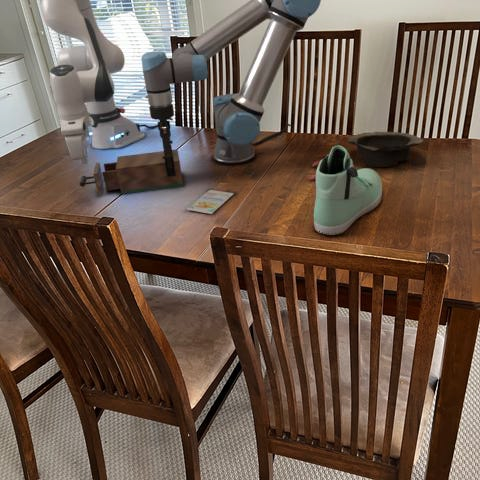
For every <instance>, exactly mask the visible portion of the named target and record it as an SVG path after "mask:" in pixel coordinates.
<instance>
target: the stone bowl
mask: <svg viewBox="0 0 480 480" xmlns="http://www.w3.org/2000/svg"><path fill="white" fill-rule="evenodd" d="M424 142H425V141H424V139H422V138H420V137H418V136H417V135H414V134H411V133H407V132H397V131H373V132H362V133H358V134H353V135H351V136H349V137H348V141H347V143H348V144H351V145H353V146H356V150H357V151H356V152H357V154H358V155H360V157H361V159H363V160H364V161H366V164H367V166H368V167H372V168H375V167H376V168H385V167H394V166H396V165H397V164H398V162H406V161H408V160H409V158H410V151H411V148H413V147H416V146H419V145H420V144H422V143H424Z"/></svg>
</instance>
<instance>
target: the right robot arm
mask: <svg viewBox="0 0 480 480" xmlns="http://www.w3.org/2000/svg"><path fill="white" fill-rule="evenodd" d="M321 2H322V0H249V1H247V2H246V3H245V4H243V5H241V6H240V7H239V8H237V9H236V10H234V11H233V12H232V13H230V14H229V15H227V16H225V17H224V18H223V19H221V20H220V21H218V22H217V23H216V24H214V25H212V27H210V28H209V29H207V30H205V31H204V32H203V33H201V34H200V35H198V36H197V37H195V38H194V39H192V41H190V42H188V43H186V44H185V45H184V46H181V47H177V48H176V49H175V50H174V51H173V53H172V55H171V57H167V54H166V52H164V51H161V50H160V51H158V50H157V51H156V50H155V51H149V52H145V53H143V55H142V56H141V66H142V68H141V69H142V74H143V80H144V85H145V90H146V95H145V97H144V98H145V99H147V102H148V105H149V107H148V108H149V115H150V116H149V117H150V119H152V120H155V121H157V120H158V121H157V122H156V123H157V125H158V127H157V129H158V131H159V137H160V139H161V142H162V148H163V151H164V155H165V156H164V157H162V158H163V159H165V164H166V170H167V176H168V177H171V176H176V174H175V167H174V161H173V155H172V150H173V148H172V144H174V142H173V140H171V137H172V134H171V122H170V121H171V120H167V119H168V118H173V117H174V116H175V111H174V110H175V109H174V104H173V95H172V89H171V85H173V84H174V85H175V84H181V83H182V84H183V83H193V82H197V83H198V82H199V81H205V80H207V79H208V77H209V76H208V75H209V73H208V71H209V70H208V63H207V61H208V60H210V59H211V58H213V57H214V56H215V55H216V54H218V53H220V52H221V51H223V50H224V49H225V48H227V47H229V46H230V45H232V44H233V43H234V42H236V41H237V40H239V39H240V38H242V37H243V36H245V35H246V34H248V33H249V32H250V31H252V30H253V29H255V28H256V27H257V26H259V25H260V24H262V23H264V22H265V21H266V20H270V21H269V22H268V25H267V27H266V30H265V31H264V34H263V36H262V39H261V41H260V43H259V46H258V47H257V50H256V53H255V55H254V57H253V59H252V61H251V64H250V66H249V69H248V70H247V73H246V75H245V77H244V80H243V82H242V84H241V87H240V89H239V91H238V93H227V94H222V95H217V96H215V97H214V98H213V105H212V106H213V107H212V108H213V111H214V121H215V132H216V141H215V146H214V150H213V159H214V161H215V162H216V163H218V164H221V165H228V166H233V165H240V164H246V163H248V162H250V161H252V160H253V159H254V158H255V157H256V155H255V149H254V148H255V147H254V146H256V145H259V144H261V143H263V142H264V141H266V140H268V139H270V138H272V137H275V136H277V135H280V134H282V133H283V132H285V131H286V130H287V129H288V127H291V126H292V125H291V124H290V123H287V124H286V125H285V127H284V128H283V129H281V130H280V131H277V132H275V133H273V134H270V135H267V136H266V137H264V138H262V139H260V140H259V141H258V140H257V139H258V137H259V135H260V132H261V124H260V123H261V120H262V118H263V116H264V113H265V109H264V103H265V100H266V98H267V96H268V94H269V91H270V89H271V88H272V85H273V83H274V81H275V79H276V76H277V75H278V73H279V70H280V68H281V65H282V63H283V61H284V59H285V57H286V55H287V53H288V50H289V48H290V46H291V44H292V42H293V40H294V38H295V35H296V33H297V32H299V31H302V30H303V29H304V28H305V26H306V23H307V21H308V19H309V18H310V17H312V16H313V15H314V14H315V13H316V12H317V11H318V9H319V8H320V5H321ZM256 140H257V141H256ZM255 141H256V142H255ZM166 154H168V155H166Z"/></svg>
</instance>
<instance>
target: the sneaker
mask: <svg viewBox="0 0 480 480" xmlns="http://www.w3.org/2000/svg"><path fill="white" fill-rule="evenodd" d="M319 161H320V163H319V165H317V168H316V172H315V173H316V178H315V201H314V207H313V225H314V229H315V231H316V232H318V233H320V234H323V235H326V236H327V235H328V236H336V235H339V234H342V233H344V232H345V231H347V230H348V229H349V228H350V227H351V226H352V225H353V224H354V222H356V221H357V220H358V219H359V218H360V217H362V216H363V215H365V214H367V213H370V212H372V210H374V209H375V208H377V207H378V205H380V203H381V200H382V196H383V184H382V183H383V182H382V179H381V176H380V175H379V173H378V172H377V171H376V170H374V169H372V168H367V167H365V168H358V169H357V168H355V167H354V161H353V159H352V158H351V156H350V153H349V152H348V150H347V148H345V147H344V146H342V145H334V146H333V147H331V149H330V151H329V154H327V155H326V156H325V157H324V158H322V159H321V160H319ZM343 230H344V231H343ZM319 231H320V232H319ZM322 232H323V233H322ZM339 232H340V233H339ZM326 233H327V234H326ZM328 233H329V234H328ZM335 233H337V234H335Z"/></svg>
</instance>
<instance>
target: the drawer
mask: <svg viewBox="0 0 480 480" xmlns="http://www.w3.org/2000/svg"><path fill="white" fill-rule="evenodd" d="M116 164H117V161H115V162H107V163H103V168H104V171H102V169H101V164H100V162H95V165H94V169H93V172H92V176H91V175H90V176H86V175H82V176H81V178H80V182H79V186H80V187H81V188H84V187H85V186H86V185H93V184H94V185H95V188H96V192H97V194H98V195H99V194H102V193H103V189H104V186H105V191H112V190H113V191H114V190H120V185H119V181H118V176H117V171H116ZM92 179H94V181H87V180H92Z"/></svg>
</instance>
